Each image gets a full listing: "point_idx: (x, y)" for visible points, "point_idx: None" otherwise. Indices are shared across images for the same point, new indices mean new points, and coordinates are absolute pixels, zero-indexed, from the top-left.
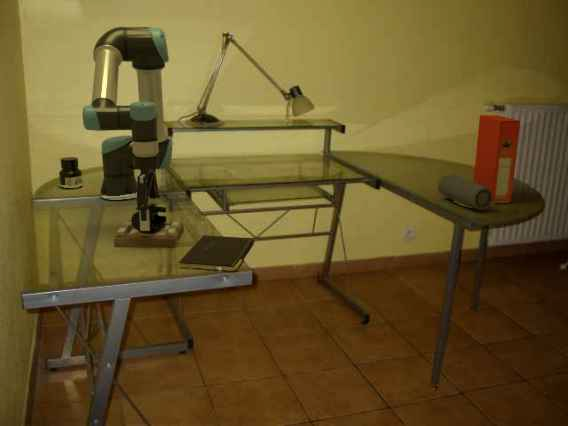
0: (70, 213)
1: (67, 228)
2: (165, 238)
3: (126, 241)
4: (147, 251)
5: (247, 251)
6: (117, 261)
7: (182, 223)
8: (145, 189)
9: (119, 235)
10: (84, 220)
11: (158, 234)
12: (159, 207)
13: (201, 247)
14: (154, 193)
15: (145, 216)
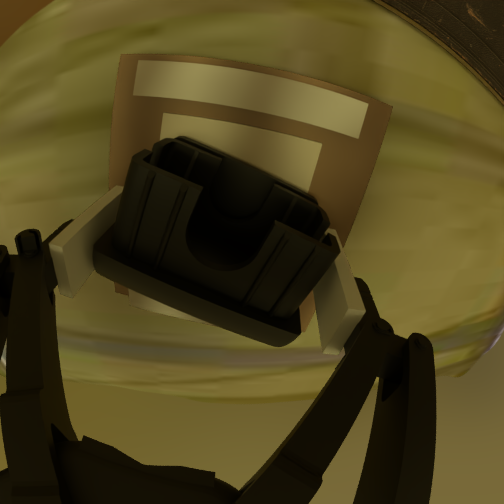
0: None
1: (136, 384)
2: (368, 144)
3: None
4: (390, 213)
5: None
6: (429, 295)
7: (124, 58)
8: (431, 473)
9: None
10: (77, 355)
11: (313, 175)
12: (145, 208)
13: (467, 26)
14: (43, 292)
15: (371, 298)
